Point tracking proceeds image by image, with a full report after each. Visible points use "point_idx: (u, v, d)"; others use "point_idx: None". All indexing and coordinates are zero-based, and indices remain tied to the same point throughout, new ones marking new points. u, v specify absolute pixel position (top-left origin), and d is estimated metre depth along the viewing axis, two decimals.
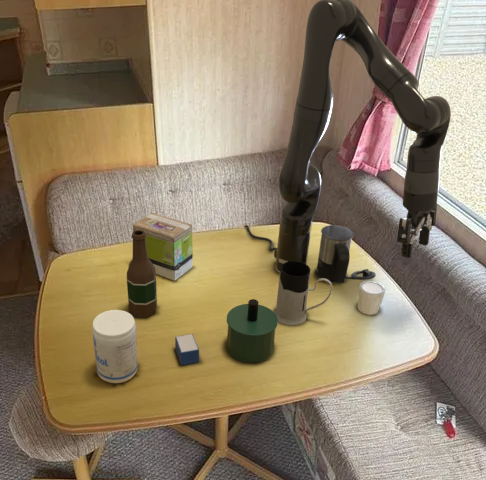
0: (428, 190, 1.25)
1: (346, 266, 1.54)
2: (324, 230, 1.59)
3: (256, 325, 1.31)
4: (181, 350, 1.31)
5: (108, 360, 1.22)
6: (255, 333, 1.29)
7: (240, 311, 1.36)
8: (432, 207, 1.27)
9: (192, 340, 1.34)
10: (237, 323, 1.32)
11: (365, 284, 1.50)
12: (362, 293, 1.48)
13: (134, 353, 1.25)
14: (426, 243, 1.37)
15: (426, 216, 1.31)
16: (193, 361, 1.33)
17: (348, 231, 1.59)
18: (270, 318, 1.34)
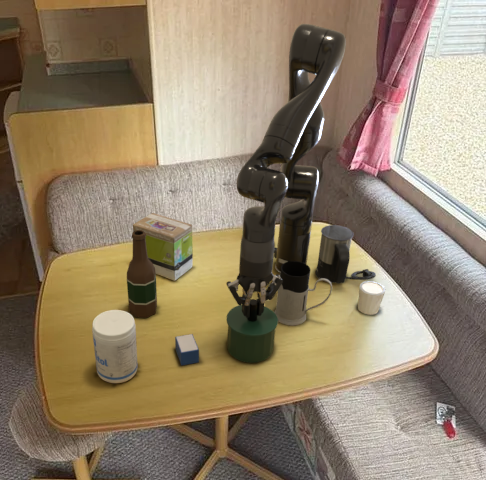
0: (251, 259, 1.20)
1: (346, 266, 1.54)
2: (324, 230, 1.59)
3: (256, 325, 1.31)
4: (181, 350, 1.31)
5: (108, 360, 1.22)
6: (255, 333, 1.29)
7: (240, 311, 1.36)
8: (257, 276, 1.22)
9: (192, 340, 1.34)
10: (237, 323, 1.32)
11: (365, 284, 1.50)
12: (362, 293, 1.48)
13: (134, 353, 1.25)
14: (258, 314, 1.32)
15: (260, 283, 1.26)
16: (193, 361, 1.33)
17: (348, 231, 1.59)
18: (270, 318, 1.34)
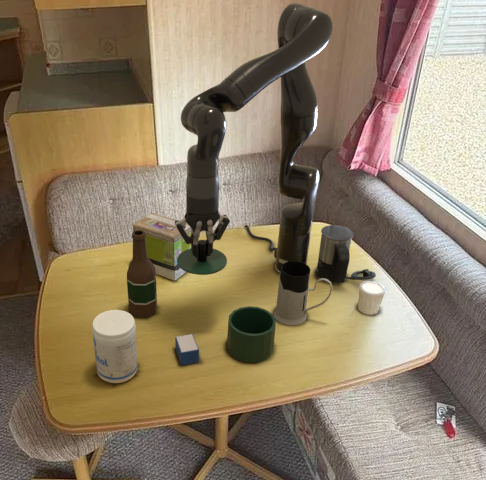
0: (195, 195, 1.24)
1: (346, 266, 1.54)
2: (324, 230, 1.59)
3: (205, 265, 1.35)
4: (181, 350, 1.31)
5: (108, 360, 1.22)
6: (203, 271, 1.32)
7: (191, 253, 1.39)
8: (202, 213, 1.26)
9: (192, 340, 1.34)
10: (187, 263, 1.35)
11: (365, 284, 1.50)
12: (362, 293, 1.48)
13: (134, 353, 1.25)
14: (207, 254, 1.36)
15: (207, 221, 1.30)
16: (193, 361, 1.33)
17: (348, 231, 1.59)
18: (220, 259, 1.37)
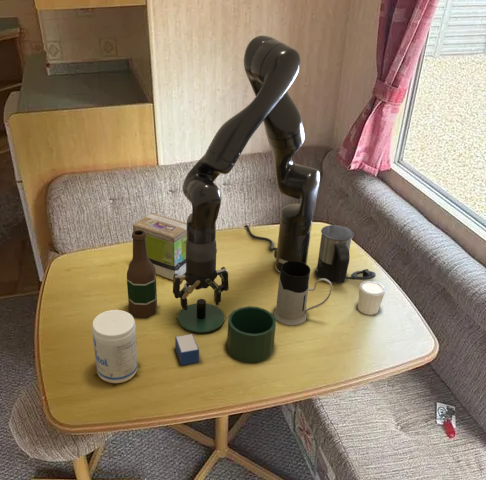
0: (194, 258, 1.33)
1: (346, 266, 1.54)
2: (324, 230, 1.59)
3: (204, 322, 1.44)
4: (181, 350, 1.31)
5: (108, 360, 1.22)
6: (202, 329, 1.42)
7: (191, 310, 1.49)
8: (201, 274, 1.35)
9: (192, 340, 1.34)
10: (187, 320, 1.45)
11: (365, 284, 1.50)
12: (362, 293, 1.48)
13: (134, 353, 1.25)
14: (216, 303, 1.45)
15: (205, 280, 1.39)
16: (193, 361, 1.33)
17: (348, 231, 1.59)
18: (218, 316, 1.47)
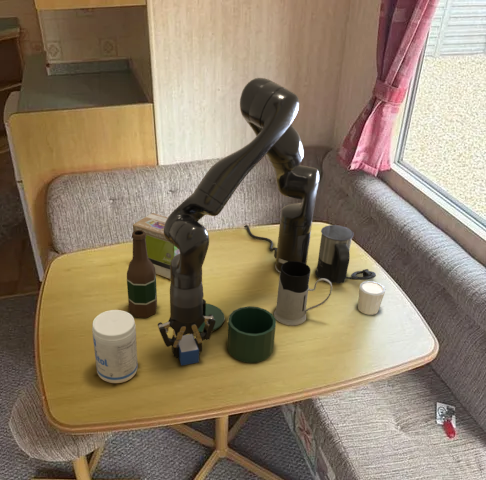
0: (179, 304, 1.22)
1: (346, 266, 1.54)
2: (324, 230, 1.59)
3: (204, 322, 1.44)
4: (181, 350, 1.31)
5: (108, 360, 1.22)
6: (202, 329, 1.42)
7: None
8: (186, 321, 1.25)
9: (192, 340, 1.34)
10: None
11: (365, 284, 1.50)
12: (362, 293, 1.48)
13: (134, 353, 1.25)
14: None
15: (191, 325, 1.28)
16: (193, 361, 1.33)
17: (348, 231, 1.59)
18: (218, 316, 1.47)
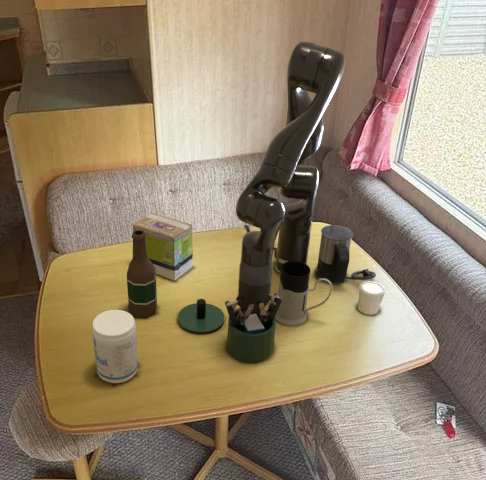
0: (250, 282, 1.23)
1: (346, 266, 1.54)
2: (324, 230, 1.59)
3: (204, 322, 1.44)
4: (247, 329, 1.32)
5: (108, 360, 1.22)
6: (202, 329, 1.42)
7: (191, 310, 1.49)
8: (255, 298, 1.26)
9: (257, 319, 1.35)
10: (187, 320, 1.45)
11: (365, 284, 1.50)
12: (362, 293, 1.48)
13: (134, 353, 1.25)
14: None
15: (258, 304, 1.29)
16: None
17: (348, 231, 1.59)
18: (218, 316, 1.47)
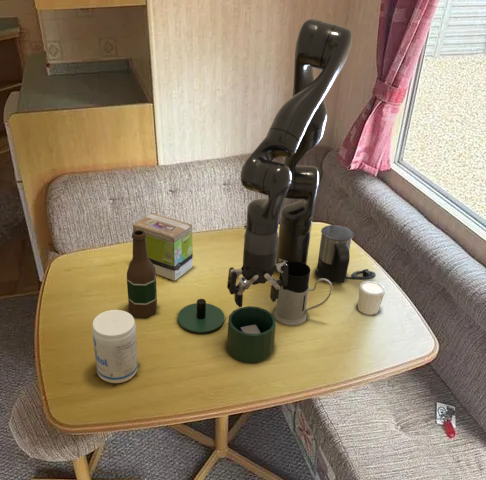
0: (255, 251, 1.21)
1: (346, 266, 1.54)
2: (324, 230, 1.59)
3: (204, 322, 1.44)
4: None
5: (108, 360, 1.22)
6: (202, 329, 1.42)
7: (191, 310, 1.49)
8: (260, 268, 1.23)
9: (256, 330, 1.37)
10: (187, 320, 1.45)
11: (365, 284, 1.50)
12: (362, 293, 1.48)
13: (134, 353, 1.25)
14: (273, 300, 1.33)
15: (263, 274, 1.27)
16: None
17: (348, 231, 1.59)
18: (218, 316, 1.47)
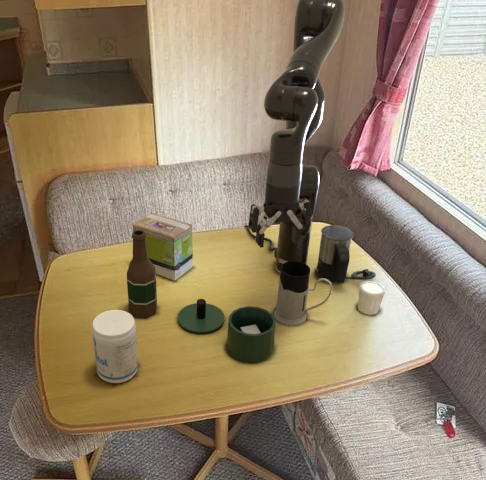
0: (278, 183, 1.18)
1: (346, 266, 1.54)
2: (324, 230, 1.59)
3: (204, 322, 1.44)
4: None
5: (108, 360, 1.22)
6: (202, 329, 1.42)
7: (191, 310, 1.49)
8: (284, 203, 1.20)
9: (256, 330, 1.37)
10: (187, 320, 1.45)
11: (365, 284, 1.50)
12: (362, 293, 1.48)
13: (134, 353, 1.25)
14: (295, 241, 1.30)
15: (286, 211, 1.24)
16: None
17: (348, 231, 1.59)
18: (218, 316, 1.47)
